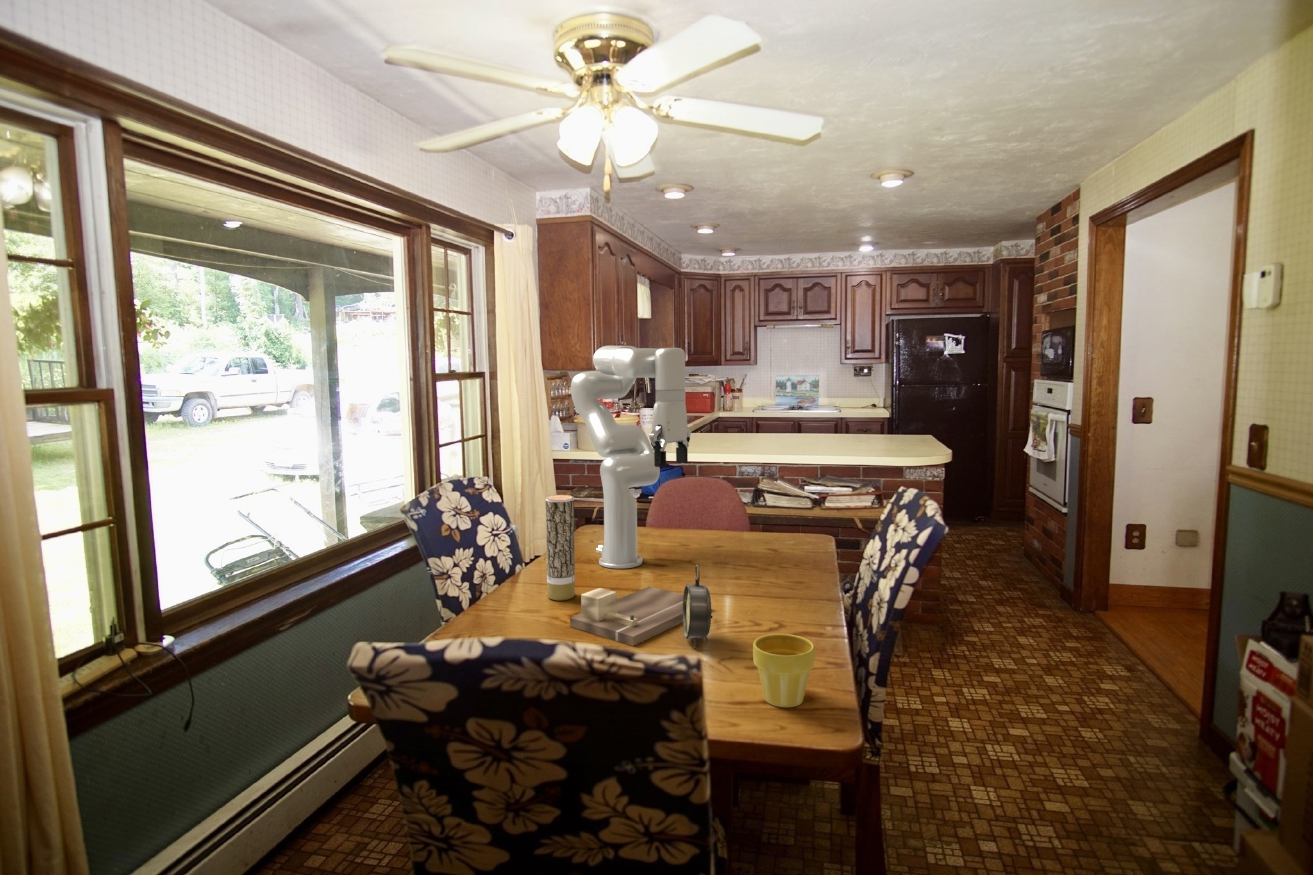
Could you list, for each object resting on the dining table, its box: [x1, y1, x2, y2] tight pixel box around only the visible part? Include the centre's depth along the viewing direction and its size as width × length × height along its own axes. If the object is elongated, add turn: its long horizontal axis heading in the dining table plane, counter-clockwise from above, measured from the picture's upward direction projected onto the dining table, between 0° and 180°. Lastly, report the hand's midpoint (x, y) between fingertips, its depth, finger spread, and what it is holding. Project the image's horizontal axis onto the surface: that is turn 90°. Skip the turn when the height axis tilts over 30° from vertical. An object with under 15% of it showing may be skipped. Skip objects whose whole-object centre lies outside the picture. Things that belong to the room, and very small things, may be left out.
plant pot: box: [752, 633, 816, 709], centre depth 120 cm, size 10×10×10 cm
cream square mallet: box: [580, 587, 638, 627], centre depth 154 cm, size 13×6×5 cm, turn 52°
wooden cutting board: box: [569, 586, 684, 647], centre depth 160 cm, size 18×28×2 cm, turn 142°
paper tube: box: [545, 494, 576, 601], centre depth 174 cm, size 7×7×25 cm
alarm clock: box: [682, 564, 713, 651], centre depth 145 cm, size 11×5×16 cm, turn 5°
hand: (671, 464), depth 179 cm, fingers open, 9 cm apart
